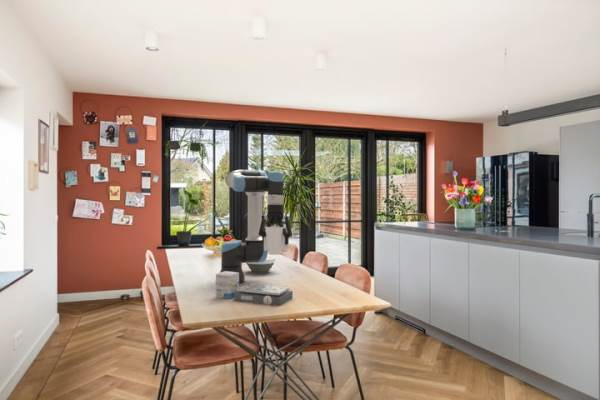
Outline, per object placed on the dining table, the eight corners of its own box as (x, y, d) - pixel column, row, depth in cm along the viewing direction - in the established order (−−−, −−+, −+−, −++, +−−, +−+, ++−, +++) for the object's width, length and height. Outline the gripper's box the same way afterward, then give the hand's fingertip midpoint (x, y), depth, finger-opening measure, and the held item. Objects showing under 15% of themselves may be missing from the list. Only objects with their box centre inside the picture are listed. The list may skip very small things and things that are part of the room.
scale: (233, 301, 199) (233, 292, 198) (249, 294, 213) (249, 285, 213) (279, 306, 190) (279, 297, 190) (292, 298, 204) (292, 290, 204)
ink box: (239, 295, 209) (239, 272, 209) (229, 299, 201) (229, 275, 201) (225, 293, 212) (225, 270, 212) (215, 297, 205) (215, 273, 204)
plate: (236, 290, 199) (236, 288, 199) (250, 285, 211) (250, 283, 211) (278, 295, 191) (278, 293, 191) (289, 289, 203) (289, 287, 203)
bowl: (281, 271, 272) (281, 257, 272) (263, 276, 256) (263, 261, 256) (257, 268, 283) (257, 254, 283) (238, 272, 266) (238, 258, 266)
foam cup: (286, 255, 195) (286, 227, 194) (266, 255, 193) (266, 227, 193) (283, 252, 204) (283, 225, 204) (264, 252, 203) (264, 225, 202)
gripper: (251, 203, 199) (250, 250, 199) (293, 204, 191) (293, 253, 191) (258, 203, 206) (258, 248, 206) (299, 204, 198) (299, 251, 198)
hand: (275, 251), depth 199 cm, fingers closed on foam cup, 9 cm apart
